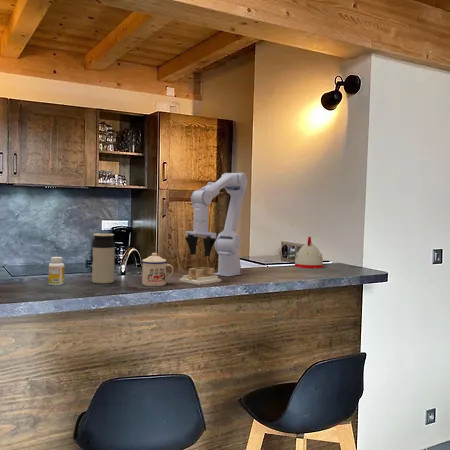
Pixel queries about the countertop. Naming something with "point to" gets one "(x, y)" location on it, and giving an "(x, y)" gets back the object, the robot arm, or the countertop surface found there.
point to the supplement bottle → (56, 271)
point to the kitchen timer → (309, 256)
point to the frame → (200, 272)
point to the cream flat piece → (200, 279)
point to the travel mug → (103, 258)
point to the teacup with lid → (155, 271)
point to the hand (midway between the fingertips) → (200, 255)
